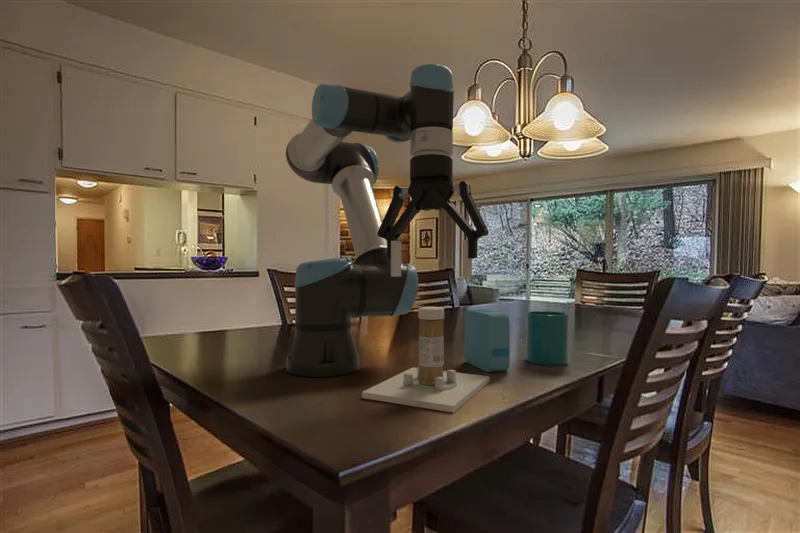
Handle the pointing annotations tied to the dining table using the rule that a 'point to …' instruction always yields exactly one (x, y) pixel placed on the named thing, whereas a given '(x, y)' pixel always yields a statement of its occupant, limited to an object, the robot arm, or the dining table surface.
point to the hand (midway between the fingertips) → (430, 277)
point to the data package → (487, 340)
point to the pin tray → (428, 390)
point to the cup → (547, 338)
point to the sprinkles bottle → (430, 344)
